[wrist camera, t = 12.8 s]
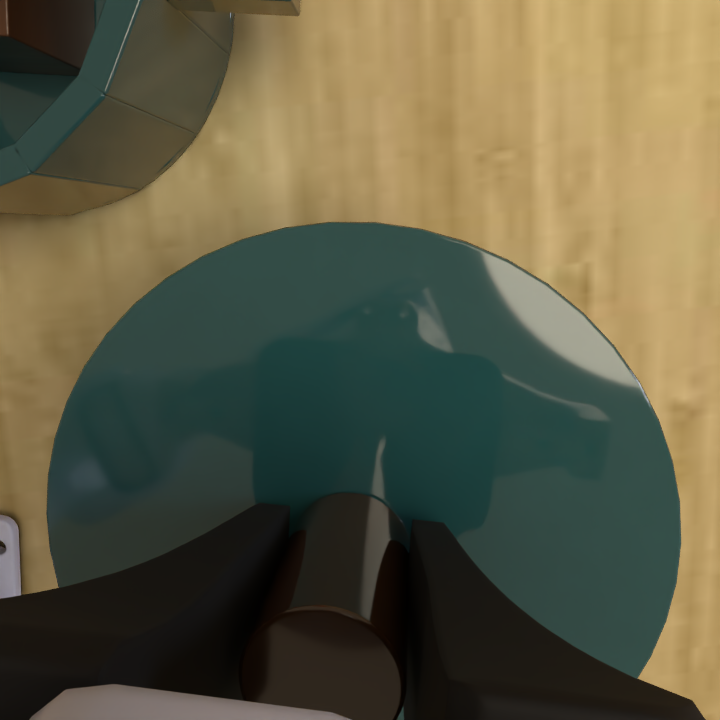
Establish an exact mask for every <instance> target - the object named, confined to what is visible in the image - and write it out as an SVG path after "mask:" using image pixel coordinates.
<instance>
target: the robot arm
mask: <svg viewBox="0 0 720 720" xmlns="http://www.w3.org/2000/svg"><path fill="white" fill-rule="evenodd" d="M289 521H290V506H285V505H276V504H266V503H258V504H256V505H254V506H252V507H250V508H248V509H247V510H245V511H243V512H241V513H240V514H238V515H236V516H235V517H233V518H231V519H229V520H228V521H226V522H224V523H222V524H221V525H219V526H217V527H215V528H214V529H212V530H210V531H208V532H207V533H205V534H203V535H201V536H199V537H197V538H195V539H193V540H191V541H189V542H187V543H185V544H183V545H181V546H179V547H177V548H175V549H173V550H171V551H169V552H167V553H165V554H163V555H160V556H158V557H156V558H153V559H151V560H149V561H146V562H143V563H141V564H138V565H135V566H133V567H130V568H127V569H125V570H122V571H119V572H116V573H113V574H109V575H105V576H102V577H98V578H95V579H91V580H88V581H84V582H80V583H77V584H73V585H70V586H65V587H61V588H56V589H52V590H47V591H42V592H37V593H31V594H25V595H21V575H20V551H19V530H18V526H17V524H16V522H15V521H14V520H13V519H12V518H10V517H8V516H5V515H0V541H2V542H3V543H4V544H5V546H6V548H3V547H2V546H1V545H0V720H351V719H348V718H346V717H343V716H340V715H337V714H335V713H332V712H325V711H317V710H309V709H302V708H294V707H286V706H279V705H271V704H263V703H256V702H248V701H244V700H243V697H242V694H241V690H240V684H239V674H238V669H239V661H240V657H241V653H242V650H243V648H244V645H245V643H246V641H247V638H248V636H249V633H250V631H251V629H252V626H253V624H254V621H255V619H256V617H257V614H258V612H259V609H260V607H261V605H262V602H263V600H264V597H265V595H266V593H267V590H268V588H269V585H270V583H271V581H272V578H273V576H274V574H275V571H276V569H277V566H278V564H279V562H280V559H281V557H282V554H283V552H284V550H285V547H286V545H287V542H288V539H289ZM408 590H409V609H408V649H407V689H406V697H405V702H404V705H403V710H404V720H705V718H704V717H703V715H702V714H701V713H700V711H699V710H698V708H697V707H696V705H695V704H694V703H693V701H692V700H690V699H687V698H685V697H682V696H680V695H677V694H675V693H672V692H669V691H667V690H664V689H662V688H659V687H657V686H654V685H652V684H649V683H647V682H644V681H642V680H639V679H637V678H634V677H632V676H630V675H628V674H626V673H624V672H622V671H620V670H617V669H615V668H613V667H611V666H609V665H607V664H605V663H603V662H601V661H599V660H597V659H596V658H594V657H592V656H590V655H588V654H587V653H585V652H583V651H581V650H579V649H578V648H576V647H574V646H573V645H571V644H570V643H568V642H567V641H565V640H563V639H562V638H560V637H559V636H557V635H556V634H554V633H553V632H551V631H550V630H548V629H547V628H545V627H544V626H542V625H541V624H540V623H538V622H537V621H536V620H534V619H533V618H532V617H531V616H529V615H528V614H527V613H526V612H524V611H523V610H522V609H521V608H519V607H518V606H517V605H516V604H515V603H513V602H512V601H511V600H510V599H509V598H508V597H507V596H506V595H505V594H504V593H503V592H502V591H500V590H499V589H498V588H497V587H496V586H495V585H494V584H493V583H492V582H491V581H490V580H489V579H488V577H487V576H486V575H485V574H484V573H483V572H482V571H481V570H480V569H479V567H478V566H477V565H476V564H475V563H474V562H473V560H472V559H471V558H470V557H469V555H468V554H467V553H466V551H465V550H464V549H463V547H462V546H461V545H460V543H459V542H458V541H457V539H456V538H455V537H454V535H453V534H452V532H451V531H450V530H449V528H448V527H447V526H446V525H445V523H443V522H434V521H424V520H415V519H412V528H411V538H410V548H409V571H408Z"/></svg>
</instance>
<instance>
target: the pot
mask: <svg viewBox="0 0 720 720" xmlns="http://www.w3.org/2000/svg"><path fill="white" fill-rule="evenodd" d="M235 13H244V14H264V15H285V16H299V15H300V0H94V21H95V30H94V33H93V36H92V39H91V41H90V44H89V47H88V50H87V52H86V55H85V58H84V61H83V63H82V66H81V69H80V72H79V74H78V76H69V75H51V74H34V73H17V72H0V213H19V214H44V215H74V214H76V213H79V212H82V211H85V210H90V209H94V208H97V207H101V206H104V205H108V204H111V203H113V202H116V201H118V200H120V199H122V198H124V197H127V196H129V195H131V194H133V193H135V192H136V191H139V190H140V189H141V188H143V187H144V186H146V185H147V184H149V183H151V182H152V181H154V180H155V179H156V178H157V177H158V176H160V175H161V174H162V173H163V172H164V171H165V170H167V169H168V168H169V167H170V166H171V165H172V164H173V163H174V162H175V161H176V160H177V159H178V158H179V157H180V156H181V154H182V153H183V152H184V151H185V150H186V149H187V148H188V146H189V145H190V144H191V143H192V141H193V140H194V138H195V137H196V135H197V134H198V132H199V131H200V129H201V128H202V126H203V125H204V123H205V121H206V119H207V117H208V115H209V113H210V111H211V109H212V107H213V105H214V103H215V101H216V99H217V97H218V94H219V91H220V88H221V85H222V82H223V79H224V76H225V73H226V70H227V65H228V60H229V55H230V51H231V46H232V39H233V27H234V16H235Z"/></svg>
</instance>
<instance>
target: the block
mask: <svg viewBox="0 0 720 720" xmlns="http://www.w3.org/2000/svg"><path fill="white" fill-rule="evenodd" d="M94 30H95V21H94V0H0V72H17V73H34V74H51V75H69V76H78V74H79V72H80V69H81V66H82V63H83V61H84V58H85V55H86V52H87V50H88V47H89V44H90V41H91V39H92V36H93V33H94Z"/></svg>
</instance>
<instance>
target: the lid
mask: <svg viewBox="0 0 720 720" xmlns="http://www.w3.org/2000/svg"><path fill="white" fill-rule="evenodd" d="M258 503H266V504H276V505H285V506H290V521H289V539H288V542H287V545H286V547H285V550H284V552H283V554H282V557H281V559H280V562H279V564H278V566H277V569H276V571H275V574H274V576H273V578H272V581H271V583H270V585H269V588H268V590H267V593H266V595H265V597H264V600H263V602H262V605H261V607H260V609H259V612H258V614H257V617H256V619H255V621H254V624H253V626H252V629H251V631H250V633H249V636H248V638H247V641H246V643H245V645H244V648H243V650H242V653H241V657H240V661H239V669H238V674H239V684H240V690H241V694H242V697H243V700H244V701H248V702H256V703H263V704H271V705H279V706H286V707H294V708H302V709H309V710H317V711H325V712H332V713H335V714H337V715H340V716H343V717H346V718H348V719H351V720H404V710H403V705H404V702H405V697H406V689H407V649H408V609H409V590H408V571H409V548H410V538H411V528H412V519H415V520H424V521H434V522H443V523H445V525H446V526H447V527H448V528H449V530H450V531H451V532H452V534H453V535H454V537H455V538H456V539H457V541H458V542H459V543H460V545H461V546H462V547H463V549H464V550H465V551H466V553H467V554H468V555H469V557H470V558H471V559H472V560H473V562H474V563H475V564H476V565H477V566H478V567H479V569H480V570H481V571H482V572H483V573H484V574H485V575H486V576H487V577H488V579H489V580H490V581H491V582H492V583H493V584H494V585H495V586H496V587H497V588H498V589H499V590H500V591H502V592H503V593H504V594H505V595H506V596H507V597H508V598H509V599H510V600H511V601H512V602H513V603H515V604H516V605H517V606H518V607H519V608H521V609H522V610H523V611H524V612H526V613H527V614H528V615H529V616H531V617H532V618H533V619H534V620H536V621H537V622H538V623H540V624H541V625H542V626H544V627H545V628H547V629H548V630H550V631H551V632H553V633H554V634H556V635H557V636H559V637H560V638H562V639H563V640H565V641H567V642H568V643H570V644H571V645H573V646H574V647H576V648H578V649H579V650H581V651H583V652H585V653H587V654H588V655H590V656H592V657H594V658H596V659H597V660H599V661H601V662H603V663H605V664H607V665H609V666H611V667H613V668H615V669H617V670H620V671H622V672H624V673H626V674H628V675H630V676H632V677H634V678H638V677H639V675H640V673H641V672H642V670H643V669H644V667H645V665H646V664H647V662H648V660H649V659H650V657H651V655H652V653H653V650H654V648H655V646H656V643H657V641H658V639H659V636H660V634H661V632H662V630H663V627H664V625H665V623H666V620H667V616H668V612H669V609H670V605H671V601H672V598H673V594H674V590H675V586H676V583H677V574H678V565H679V557H680V548H681V520H680V499H679V493H678V488H677V482H676V477H675V471H674V466H673V460H672V457H671V454H670V451H669V448H668V445H667V442H666V439H665V437H664V434H663V431H662V428H661V425H660V422H659V419H658V417H657V415H656V413H655V411H654V409H653V407H652V405H651V403H650V401H649V399H648V398H647V396H646V394H645V392H644V390H643V388H642V386H641V384H640V382H639V380H638V379H637V377H636V376H635V375H634V373H633V372H632V370H631V369H630V367H629V366H628V365H627V363H626V362H625V360H624V359H623V357H622V356H621V355H620V353H619V352H618V350H617V349H616V347H615V346H614V345H613V344H612V343H611V342H610V341H609V339H608V338H607V337H606V336H605V335H604V334H603V333H602V332H601V331H600V330H599V329H598V328H597V327H596V326H595V324H594V323H593V322H592V321H591V320H590V319H589V318H588V317H587V316H586V315H585V314H584V313H583V312H582V311H581V310H580V309H578V308H577V307H576V306H575V305H573V304H572V303H571V302H570V301H568V300H567V299H566V298H565V297H564V296H562V295H561V294H560V293H559V292H557V291H556V290H555V289H554V288H552V287H551V286H550V285H549V284H547V283H546V282H544V281H542V280H541V279H539V278H537V277H536V276H534V275H533V274H531V273H529V272H528V271H526V270H524V269H523V268H521V267H519V266H518V265H516V264H514V263H513V262H511V261H509V260H508V259H505V258H503V257H501V256H498V255H496V254H494V253H491V252H489V251H487V250H484V249H482V248H480V247H478V246H475V245H473V244H471V243H468V242H466V241H463V240H459V239H456V238H452V237H449V236H445V235H441V234H438V233H434V232H431V231H427V230H424V229H419V228H412V227H405V226H398V225H391V224H384V223H377V222H325V223H317V224H309V225H301V226H294V227H286V228H282V229H278V230H274V231H271V232H267V233H263V234H259V235H256V236H252V237H248V238H245V239H241V240H239V241H237V242H234V243H232V244H230V245H227V246H225V247H223V248H220V249H218V250H216V251H213V252H211V253H208V254H206V255H204V256H202V257H200V258H198V259H197V260H195V261H193V262H192V263H190V264H188V265H187V266H185V267H183V268H182V269H180V270H178V271H177V272H175V273H173V274H172V275H170V276H168V277H167V278H165V279H164V280H163V281H162V282H160V283H159V284H158V285H157V286H156V287H154V288H153V289H152V290H151V291H149V292H148V293H147V294H146V295H144V296H143V297H142V298H141V299H140V300H138V301H137V302H136V303H135V304H134V305H133V306H132V307H131V308H130V309H129V310H128V311H127V312H126V313H125V314H124V315H123V316H122V317H121V319H120V320H119V321H118V322H117V323H116V324H115V325H114V326H113V327H112V328H111V329H110V330H109V332H108V333H107V334H106V335H105V337H104V338H103V340H102V341H101V342H100V344H99V345H98V347H97V348H96V350H95V351H94V353H93V354H92V356H91V357H90V358H89V360H88V361H87V363H86V364H85V366H84V368H83V370H82V372H81V374H80V376H79V378H78V380H77V382H76V384H75V386H74V388H73V390H72V392H71V394H70V396H69V398H68V400H67V402H66V405H65V408H64V411H63V414H62V417H61V420H60V423H59V426H58V430H57V433H56V436H55V439H54V444H53V450H52V456H51V461H50V467H49V472H48V487H47V512H46V513H47V523H48V534H49V544H50V552H51V556H52V560H53V565H54V569H55V573H56V578H57V582H58V586H59V588H61V587H65V586H70V585H73V584H77V583H80V582H84V581H88V580H91V579H95V578H98V577H102V576H105V575H109V574H113V573H116V572H119V571H122V570H125V569H127V568H130V567H133V566H135V565H138V564H141V563H143V562H146V561H149V560H151V559H153V558H156V557H158V556H160V555H163V554H165V553H167V552H169V551H171V550H173V549H175V548H177V547H179V546H181V545H183V544H185V543H187V542H189V541H191V540H193V539H195V538H197V537H199V536H201V535H203V534H205V533H207V532H208V531H210V530H212V529H214V528H215V527H217V526H219V525H221V524H222V523H224V522H226V521H228V520H229V519H231V518H233V517H235V516H236V515H238V514H240V513H241V512H243V511H245V510H247V509H248V508H250V507H252V506H254V505H256V504H258Z"/></svg>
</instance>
